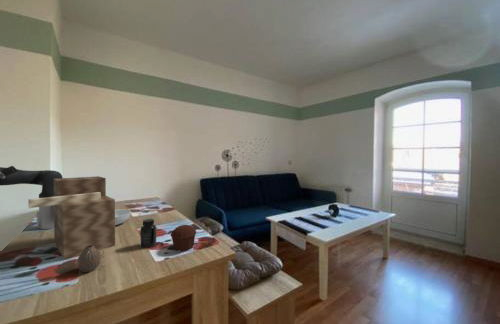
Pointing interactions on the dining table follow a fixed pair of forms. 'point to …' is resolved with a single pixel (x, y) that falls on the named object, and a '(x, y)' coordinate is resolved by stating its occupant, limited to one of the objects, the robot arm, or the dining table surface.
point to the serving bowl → (121, 216)
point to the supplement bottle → (148, 233)
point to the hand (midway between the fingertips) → (15, 168)
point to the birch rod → (63, 199)
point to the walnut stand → (83, 217)
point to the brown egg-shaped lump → (89, 259)
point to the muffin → (183, 237)
